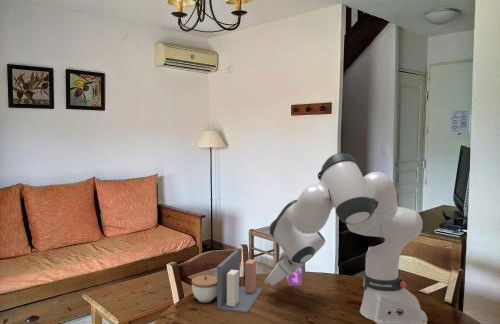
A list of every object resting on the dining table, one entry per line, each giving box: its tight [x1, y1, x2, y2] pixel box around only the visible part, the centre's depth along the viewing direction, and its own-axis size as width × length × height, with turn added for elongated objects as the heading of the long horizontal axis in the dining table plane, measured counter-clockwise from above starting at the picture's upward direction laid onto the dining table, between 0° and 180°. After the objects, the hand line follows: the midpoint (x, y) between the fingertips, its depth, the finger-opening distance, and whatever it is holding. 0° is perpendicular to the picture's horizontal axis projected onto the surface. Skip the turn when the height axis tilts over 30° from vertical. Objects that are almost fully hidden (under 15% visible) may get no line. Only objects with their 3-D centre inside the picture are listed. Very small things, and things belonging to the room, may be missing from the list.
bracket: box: [285, 267, 303, 286], centre depth 177 cm, size 13×6×7 cm, turn 0°
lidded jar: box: [191, 274, 217, 303], centre depth 156 cm, size 11×11×9 cm
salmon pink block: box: [244, 258, 257, 293], centre depth 162 cm, size 3×5×12 cm, turn 164°
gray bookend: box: [216, 249, 263, 314], centre depth 156 cm, size 12×22×16 cm, turn 164°
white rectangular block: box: [227, 269, 240, 307], centre depth 149 cm, size 3×5×12 cm, turn 164°
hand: (266, 281), depth 160 cm, fingers closed
